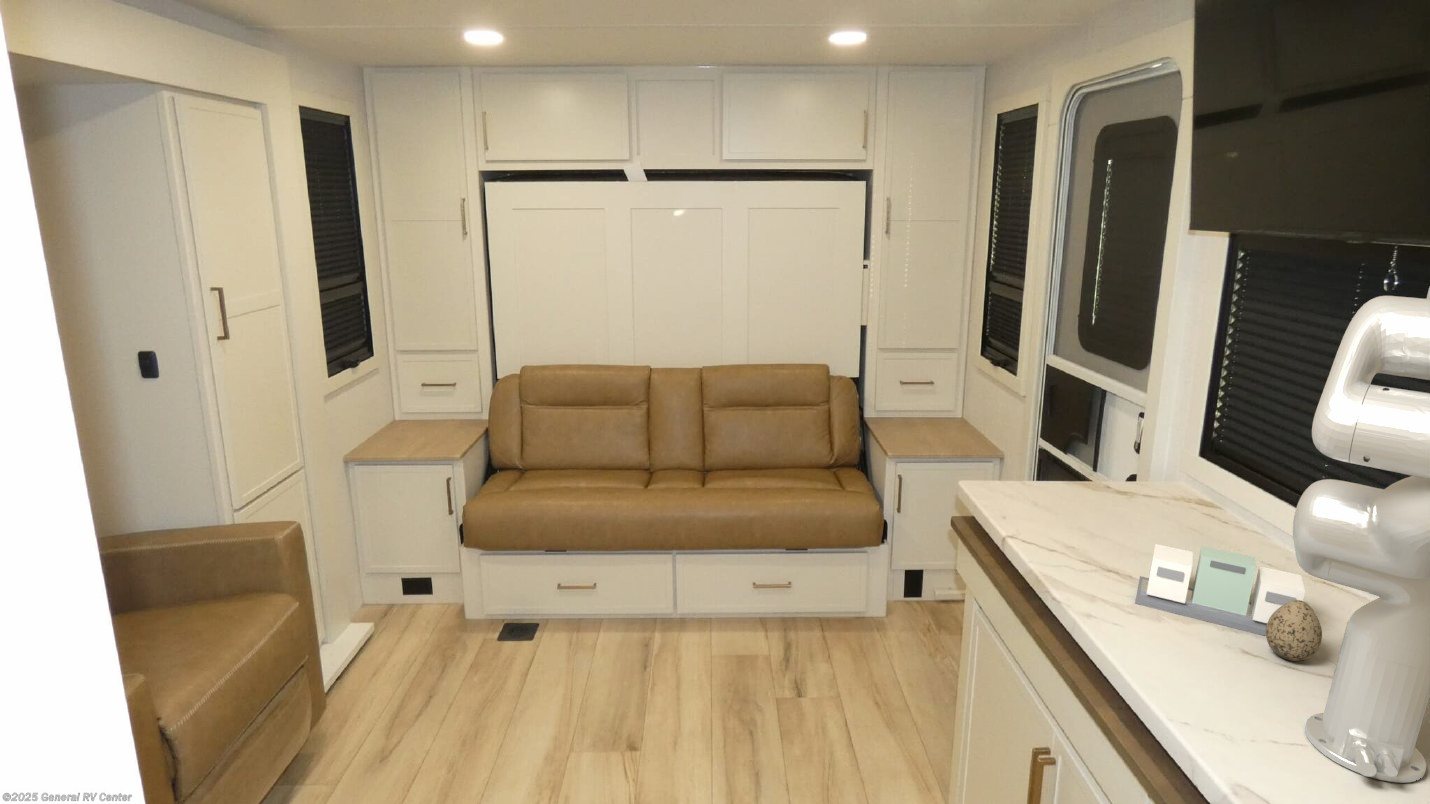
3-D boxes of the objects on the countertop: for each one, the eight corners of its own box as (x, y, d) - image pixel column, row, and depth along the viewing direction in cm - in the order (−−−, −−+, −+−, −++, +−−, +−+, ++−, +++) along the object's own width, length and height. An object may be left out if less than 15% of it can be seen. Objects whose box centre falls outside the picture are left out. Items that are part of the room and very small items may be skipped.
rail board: (1305, 646, 131) (1317, 598, 128) (1134, 603, 143) (1142, 559, 141) (1300, 619, 139) (1311, 574, 137) (1139, 580, 151) (1146, 539, 149)
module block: (1246, 615, 136) (1256, 567, 134) (1191, 603, 140) (1201, 556, 138) (1244, 604, 140) (1255, 557, 138) (1192, 591, 144) (1201, 545, 142)
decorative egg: (1279, 641, 132) (1292, 586, 129) (1325, 665, 126) (1340, 607, 123) (1250, 650, 129) (1263, 594, 126) (1296, 675, 123) (1311, 616, 120)
